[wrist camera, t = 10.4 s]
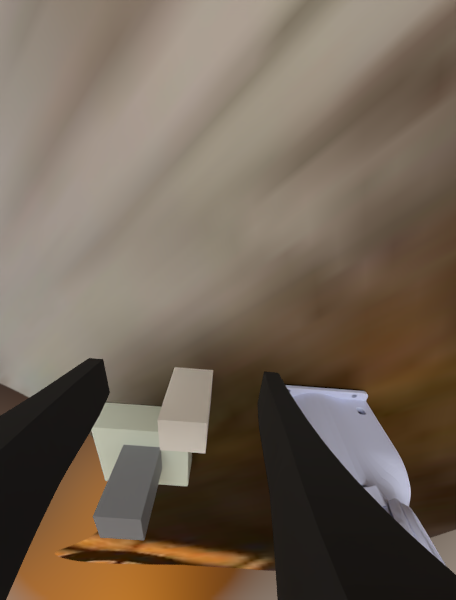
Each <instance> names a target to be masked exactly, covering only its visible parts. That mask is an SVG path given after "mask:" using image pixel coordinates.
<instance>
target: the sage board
mask: <svg viewBox="0 0 456 600" xmlns="http://www.w3.org/2000/svg"><path fill="white" fill-rule="evenodd" d="M160 410H161V407H160V406H147V405H133V404H119V403H106V402H105V405H104V407H103V409H102V411H101V413H100V416H99V417H98V419H97V421H96V423H95V424H94V426H93V428H92V429H91V430H92V434H93V438H94V441H95V445H96V449H97V452H98V456H99V459H100V463H101V467H102V470H103V474H104V477H105V480H106V481H108V480H109V477H110V475H111V473H112V470H113V468H114V466H115V463H116V461H117V459H118V456H119V454H120V452H121V449H122V447H123V445H135V446H149V447H160V446H159V434H158V421H157V419H158V416H159V413H160ZM161 458H162V471H161V475H160V479H159V483H158V484H162V485H177V486H188V482H189V475H190V468H191V462H192V452H179V451H165V450H161Z"/></svg>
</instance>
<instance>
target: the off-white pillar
mask: <svg viewBox="0 0 456 600" xmlns="http://www.w3.org/2000/svg"><path fill="white" fill-rule="evenodd" d="M212 379H213V370H204V369H191V368H178V367H174V370H173V373H172V377H171V380H170V383H169V386H168V389H167V392H166V395H165V398H164V401H163V404H162V407H161V410H160V413H159V416H158V419H157V421H158V434H159V446H160V450H165V451H179V452H194V453H205V452H206V443H207V433H208V423H209V414H210V404H211V393H212Z"/></svg>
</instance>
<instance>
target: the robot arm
mask: <svg viewBox="0 0 456 600" xmlns="http://www.w3.org/2000/svg"><path fill="white" fill-rule="evenodd" d="M288 389H289V390H288ZM109 393H110V391H109V386H108V381H107V376H106V371H105V366H104V361H103V359H92V358H89V359H87V360H86V361H84V362H83V363H81V364H80V365H78V366H77V367H75V368H74V369H72V370H71V371H69V372H68V373H66V374H65V375H63V376H62V377H60V378H59V379H57V380H56V381H54V382H53V383H51V384H50V385H48V386H47V387H45V388H44V389H42V390H41V391H39V392H38V393H36V394H35V395H33V396H32V397H30V398H28V399H27V400H25V401H24V402H22V403H20V404H19V405H17V406H16V407H14V408H12V409H11V410H9V411H7V412H6V413H4V414H3V415H1V416H0V600H6V598H7V596H8V594H9V591H10V589H11V587H12V585H13V582H14V580H15V578H16V575H17V573H18V571H19V569H20V567H21V564H22V562H23V560H24V557H25V555H26V553H27V551H28V548H29V546H30V544H31V542H32V540H33V538H34V536H35V533H36V531H37V529H38V527H39V525H40V522H41V520H42V518H43V516H44V514H45V512H46V510H47V508H48V506H49V504H50V502H51V500H52V498H53V496H54V494H55V492H56V490H57V488H58V486H59V484H60V482H61V480H62V478H63V477H64V475H65V473H66V471H67V470H68V468H69V466H70V464H71V463H72V461H73V459H74V458H75V456H76V454H77V453H78V451H79V449H80V448H81V446H82V444H83V443H84V441H85V439H86V438H87V436H88V434H89V433H90V431H91V429H92V428H93V426H94V424H95V423H96V421H97V419H98V417H99V416H100V413H101V411H102V409H103V407H104V405H105V402H106V400H107V398H108V395H109ZM367 398H368V394H367V393H366V392H365V391H357V390H344V389H331V388H318V387H305V386H291V385H285V384H284V382H283V380H282V379H281V377H280V375H279V374H278V373H274V372H264V375H263V380H262V385H261V390H260V395H259V400H258V418H259V430H260V436H261V442H262V448H263V455H264V461H265V467H266V473H267V479H268V485H269V493H270V502H271V513H272V525H273V538H274V552H275V565H276V581H277V596H278V600H456V575H455V574H454V573H453V572H452V571H451V570H450V569H449V568H447V567H446V565H445V563H444V561H443V560H442V558H441V556H440V554H439V553H438V551H437V549H436V548H435V546H434V544H433V543H432V541H431V539H430V537H429V536H428V534H427V532H426V531H425V529H424V528H423V526H422V524H421V523H420V521H419V520H418V518H417V516H416V515H415V513H414V512H413V511H412V509H411V508H410V507H409V503H410V496H411V490H410V483H409V479H408V475H407V472H406V469H405V466H404V464H403V462H402V459H401V457H400V456H399V454H398V452H397V450H396V449H395V447H394V446H393V444H392V442H391V441H390V439H389V438H388V436H387V434H386V433H385V431H384V430H383V428H382V426H381V425H380V423H379V422H378V420H377V418H376V417H375V415H374V414H373V412H372V410H371V409H370V407H369V406H368V404H367V402H366V400H367Z"/></svg>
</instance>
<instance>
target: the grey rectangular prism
mask: <svg viewBox="0 0 456 600" xmlns="http://www.w3.org/2000/svg"><path fill="white" fill-rule="evenodd" d="M161 471H162V458H161V450H160V447H149V446H135V445H123V447H122V449H121V452H120V454H119V456H118V459H117V461H116V463H115V466H114V468H113V470H112V473H111V475H110V477H109V480H108V482H107V485H106V487H105V489H104V491H103V494H102V496H101V499H100V501H99V503H98V506H97V508H96V510H95V513H94V515H93V518H94V521H95V524H96V527H97V530H98V532H99V535H100V538H116V539H132V540H144V539H145V535H146V531H147V527H148V523H149V519H150V515H151V511H152V507H153V503H154V499H155V495H156V491H157V487H158V483H159V479H160V475H161Z"/></svg>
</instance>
